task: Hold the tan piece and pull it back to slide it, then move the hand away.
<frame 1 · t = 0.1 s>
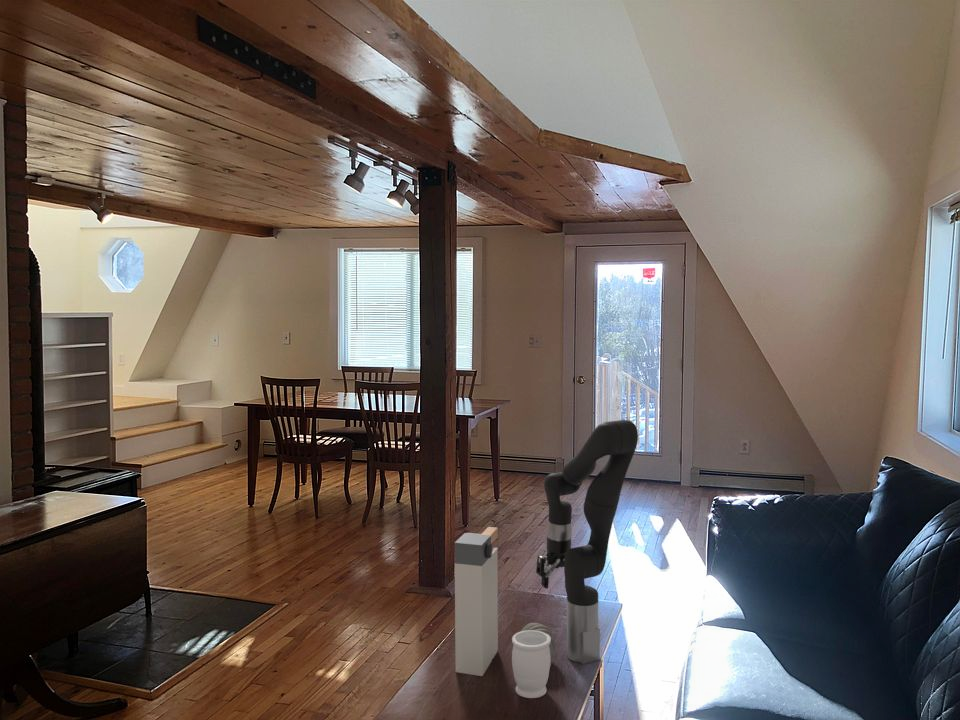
hand: (557, 585, 241), 17 cm above the table, tool pointing down, fingers open, 8 cm apart
jar: (531, 691, 211), on the table
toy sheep: (536, 663, 227), on the table
tan piece: (485, 535, 233), point 35 cm above the table, slide at 0.0 cm
pedestal: (477, 661, 228), on the table
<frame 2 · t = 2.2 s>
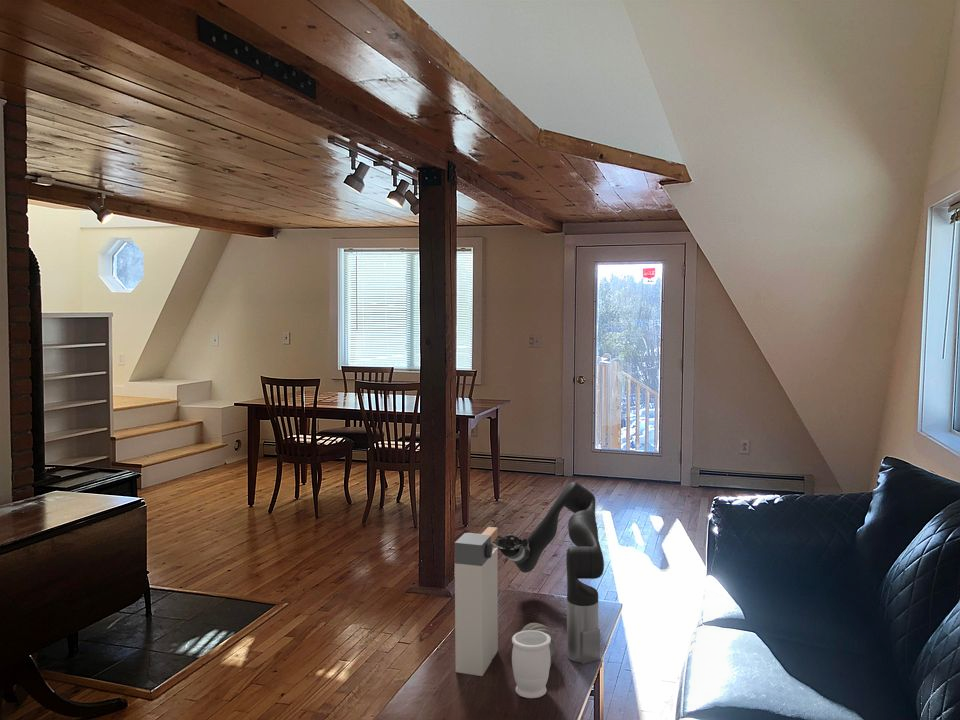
hand: (501, 537, 251), 29 cm above the table, tool pointing upward, fingers open, 8 cm apart
nothing on the table moved.
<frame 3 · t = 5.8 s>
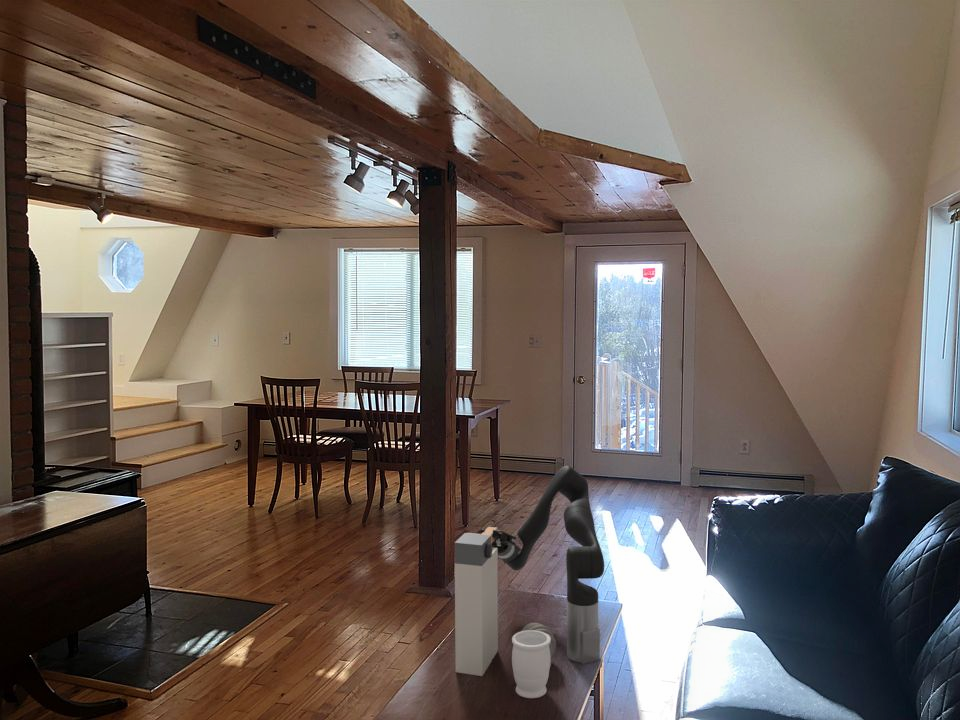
hand: (488, 532, 235), 35 cm above the table, tool pointing upward, fingers closed on tan piece, 3 cm apart
tan piece: (485, 535, 233), point 35 cm above the table, slide at 0.0 cm, touching gripper
everything else where it was.
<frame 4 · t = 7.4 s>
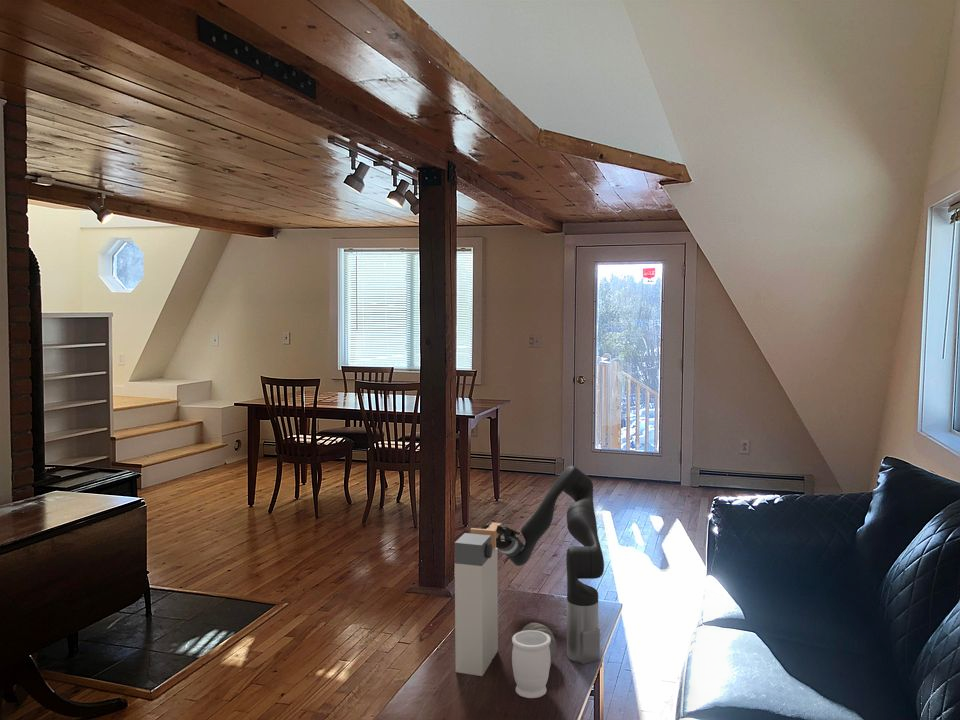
hand: (492, 528, 240), 35 cm above the table, tool pointing upward, fingers closed on tan piece, 3 cm apart
tan piece: (490, 531, 238), point 35 cm above the table, slide at 4.8 cm, touching gripper
everything else where it was.
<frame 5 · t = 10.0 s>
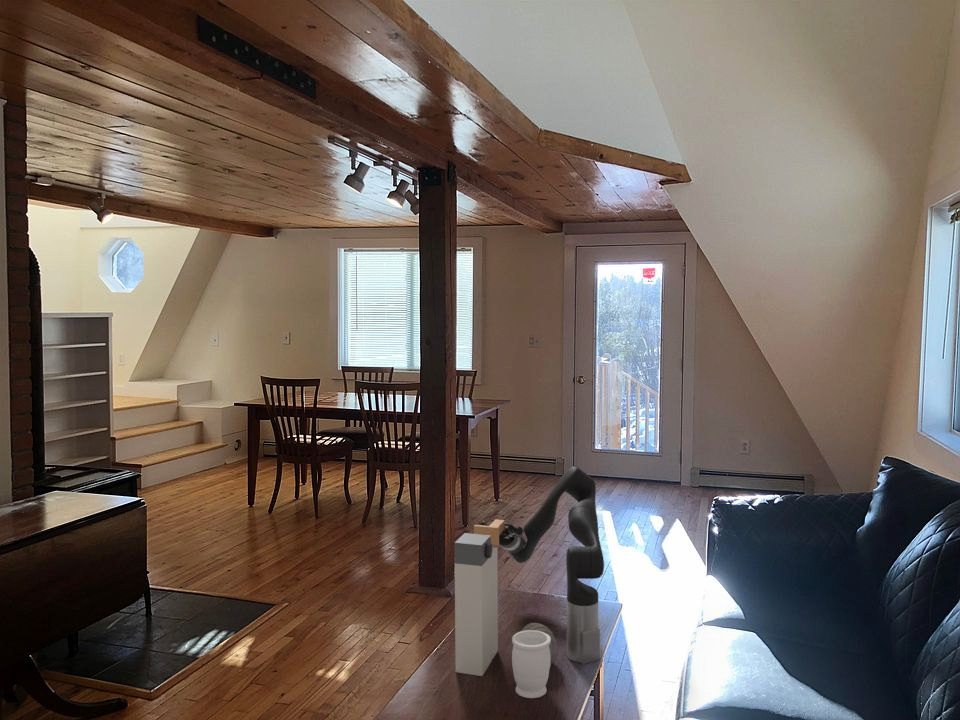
hand: (496, 525, 244), 35 cm above the table, tool pointing upward, fingers open, 8 cm apart
tan piece: (493, 527, 241), point 35 cm above the table, slide at 8.0 cm
everything else where it was.
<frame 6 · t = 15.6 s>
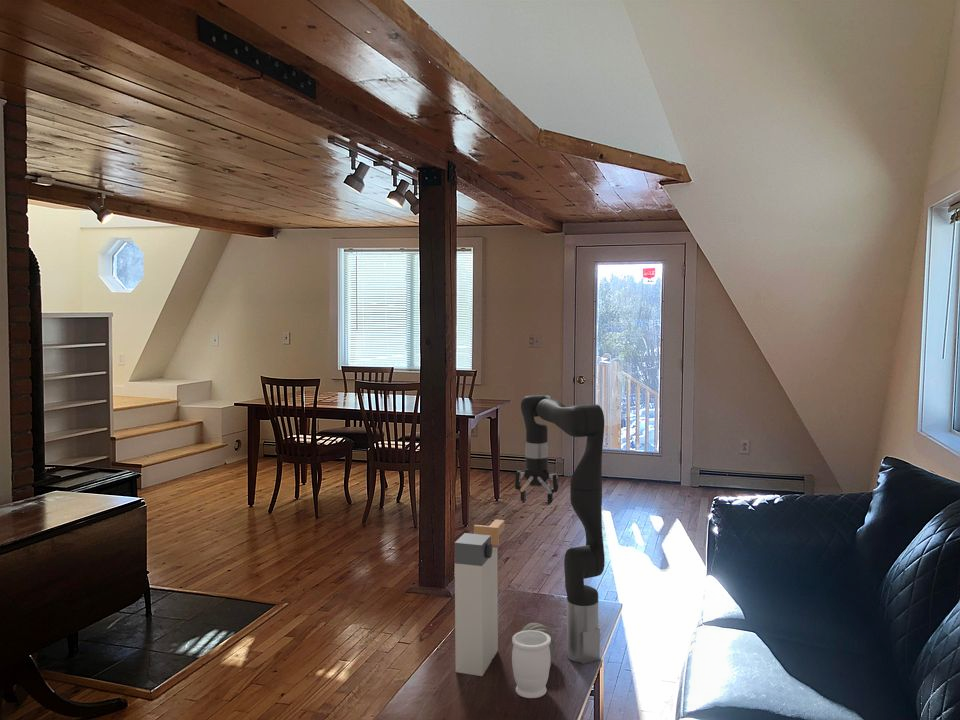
hand: (536, 503, 257), 38 cm above the table, tool pointing down, fingers open, 8 cm apart
nothing on the table moved.
at the end: tan piece slide at 8.0 cm; the gripper is holding nothing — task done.
